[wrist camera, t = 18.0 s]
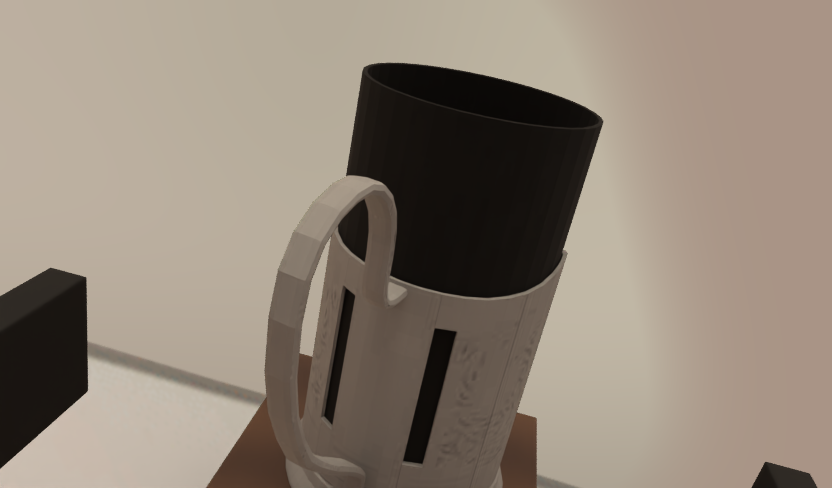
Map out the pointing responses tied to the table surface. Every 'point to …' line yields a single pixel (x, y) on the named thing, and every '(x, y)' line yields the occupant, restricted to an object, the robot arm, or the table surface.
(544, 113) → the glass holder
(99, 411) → the table surface
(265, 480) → the miniature coffee table
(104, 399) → the table surface
